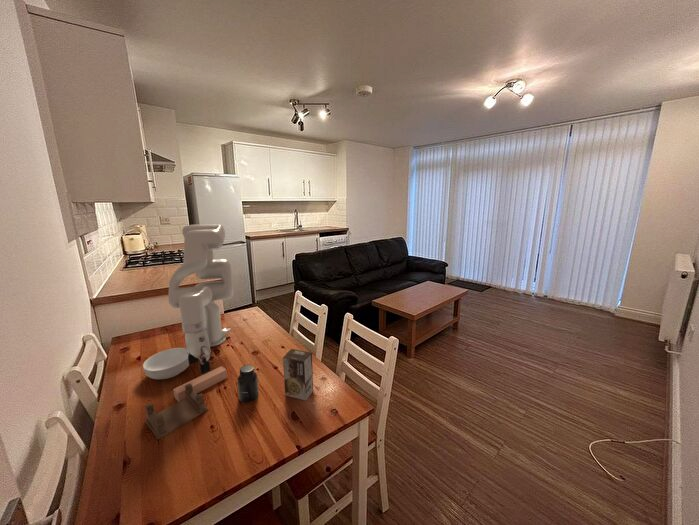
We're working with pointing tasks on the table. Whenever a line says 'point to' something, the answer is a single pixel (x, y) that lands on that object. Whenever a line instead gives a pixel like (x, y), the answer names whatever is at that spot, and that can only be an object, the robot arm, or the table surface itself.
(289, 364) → the coffee box
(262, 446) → the table surface
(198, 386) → the pink rectangular bar
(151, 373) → the cereal bowl
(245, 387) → the supplement bottle
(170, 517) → the table surface
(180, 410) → the plate with corner blocks
